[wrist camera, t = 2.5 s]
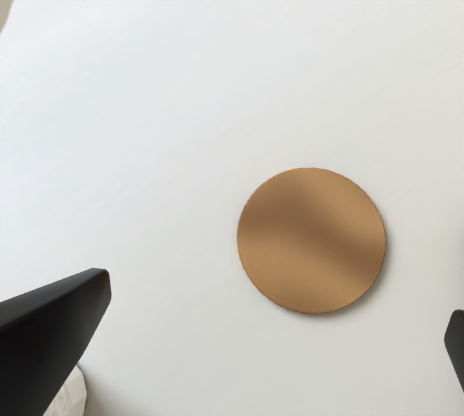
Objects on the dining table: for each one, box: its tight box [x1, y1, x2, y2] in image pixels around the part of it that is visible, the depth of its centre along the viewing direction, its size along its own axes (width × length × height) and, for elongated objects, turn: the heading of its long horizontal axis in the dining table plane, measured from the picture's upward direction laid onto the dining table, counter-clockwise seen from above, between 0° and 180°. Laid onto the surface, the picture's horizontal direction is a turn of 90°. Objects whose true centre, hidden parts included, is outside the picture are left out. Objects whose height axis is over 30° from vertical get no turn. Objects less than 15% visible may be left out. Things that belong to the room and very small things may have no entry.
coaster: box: [237, 168, 386, 314], centre depth 23 cm, size 11×11×1 cm
